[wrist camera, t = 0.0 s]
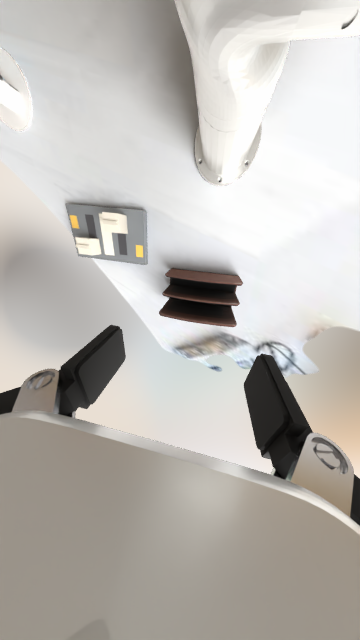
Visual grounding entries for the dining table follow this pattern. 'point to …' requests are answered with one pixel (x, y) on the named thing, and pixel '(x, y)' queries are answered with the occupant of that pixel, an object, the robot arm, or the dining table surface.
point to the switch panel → (112, 244)
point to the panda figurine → (14, 94)
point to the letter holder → (201, 297)
